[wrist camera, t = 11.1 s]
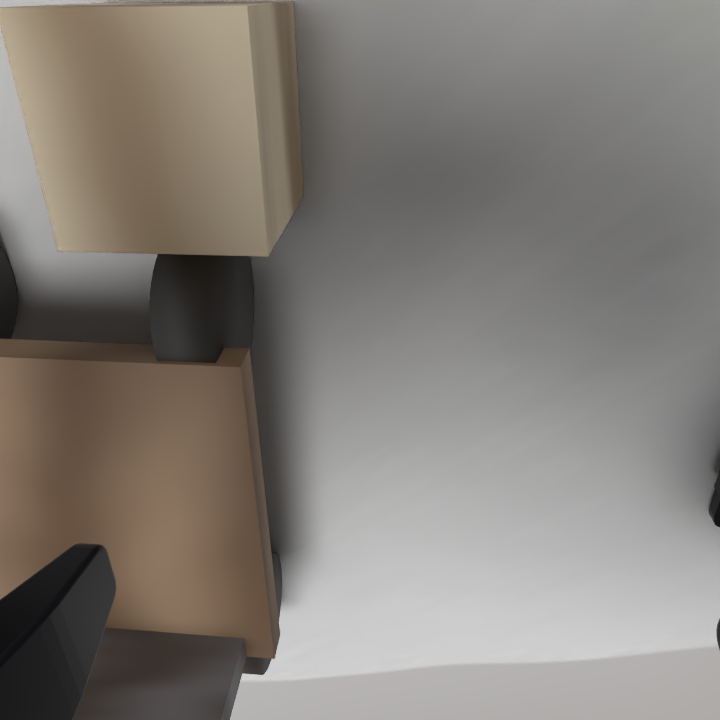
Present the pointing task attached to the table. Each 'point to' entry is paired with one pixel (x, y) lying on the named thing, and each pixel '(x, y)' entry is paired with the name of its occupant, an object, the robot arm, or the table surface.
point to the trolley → (149, 489)
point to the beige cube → (161, 123)
